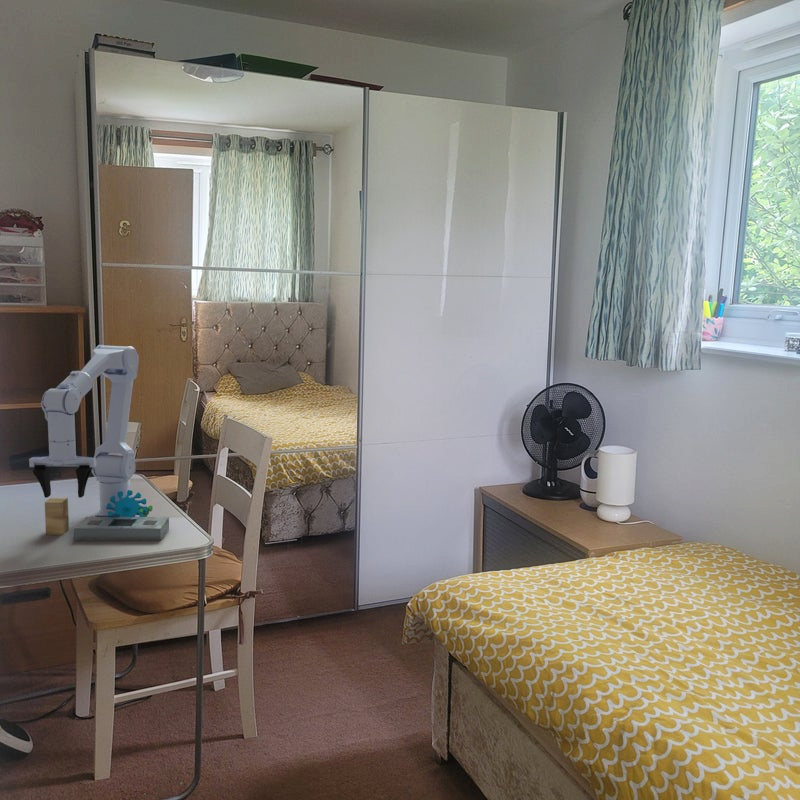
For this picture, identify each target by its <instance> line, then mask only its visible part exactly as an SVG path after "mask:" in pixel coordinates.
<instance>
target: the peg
mask: <svg viewBox="0 0 800 800" xmlns="http://www.w3.org/2000/svg"><path fill="white" fill-rule="evenodd" d="M68 499H69V498H68V497H50V498H49V499H47V500H46V501H44V517H45V522H44V523H45V535H51V536H52V535H54V536H56V535H59V536H60V535H61V536H63V535H65V534H66V532H68V531H69V530H70V524H69V523H70V521H69V520H70V519H69V518H70V516H69V500H68Z"/></svg>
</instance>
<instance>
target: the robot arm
mask: <svg viewBox="0 0 800 800" xmlns="http://www.w3.org/2000/svg"><path fill="white" fill-rule="evenodd" d="M139 360H140V357H139V354H138V353H137V350H136V348H135V347H134V346H132V345H130V346H129V345H128V346H125V345H124V346H123V345H122V346H121V345H105V344H98V345H97V346H95V348H94V349H92V353H91V359H90V360H89V361H88V362H87V363H86V364H85V365H84V367H83V368H82V369H81V370H72V371H71V372H69V375H68V376H67V377H66V378H65V379H64V380H63V381H62V382H60V383H59V384H58V385H57V386H56V387H55V388H54V387H53V388H49V389H48V390H46V391H45V392H44V393H43V394H42V396H41V397H42V398H41V401H40V405H41V409H42V411H43V413H44V419H45V420H46V421H47V431H48V432H47V433H48V435H47V436H48V452H49V453H48V456H33V457H30V458H29V459H28V462H29V463H28V464H29V468H33V470H32V472H33V475H34V476H35V478H36V479H37V481H38V483H39V484H40V488H41V489H42V492H43V497H44V498H49V497H50V496H51V495H52V489H51V488H52V487H51V486H52V485H51V471H52V467H60V468H61V467H63V468H64V467H65V468H67V467H76V469H75V474H76V478H77V497H78V498H80V499H81V498H83V497H84V496H85V491H86V488H87V487H86V486H87V482H88V481H89V476H91V474H92V475H93V476H94V478H95V479H96V481H99V482H98V484H99V485H98V486H99V509H98V511H97V512H96V513H95V514H94V517H108V512H109V511H111V512H113V513H115V512H116V511H114V510H112V509H106V506H107V504H108V503H110V504H111V505H112V507H115V506H116V505H115V504H114V503H113V502H111V501H110V498H111V497H112V496H115V501H119V496H118V492H121V491H122V492H123V496H122V498H125V497H126V496H127V491H128V490H131V491H132V483H131V479H132V478H133V476H134V474H135V472H136V459H135V458H136V457H135V456H136V452H135V451H134V449H133V448H131V447H130V446H129V445H128V444H127V436H128V429H129V427H128V426H129V421H130V420H129V419H130V411H131V402H132V396H133V395H132V393H133V388H134V387H133V386H134V380H135V379H137V377H138V369H139V362H140V361H139ZM101 375H103V376H104V377H105V378H107V379H109V381H110V382H111V389H110V398H109V405H108V416H107V422H106V424H107V425H106V430H105V438H104V439H105V440H104V442H102V444H100V445H99V446H97V447H96V448H95V451H94V456H93V457H92V456H91V457H89V456H78V455H77V447H76V424H75V423H76V421H75V420H76V419H75V418H76V417H75V413H76V412H78V411H79V408H80V405H81V402H82V399H83V398H84V396H86V395H87V394H88V393H89V391H91V389H92V388H93V381H94V380H96V379H97V378H99V376H101ZM119 454H120V455H119ZM77 467H78V468H77ZM131 497H132V495H131V496H129V498H131Z"/></svg>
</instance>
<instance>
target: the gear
mask: <svg viewBox="0 0 800 800" xmlns="http://www.w3.org/2000/svg"><path fill="white" fill-rule="evenodd" d="M133 494H134V491H133V490H132V489H131V490H128V491H127V496H126V497H125V498H122V496H123V492H122V491H121V492H118V496H119V501H115V496H112V497H111V498H110V501H111V502H113V503H114V504H115V505H116V506H115V507H112V505H111V504H110V503H108V504H107V506H106V509H112V510H114V511H116V512H115V513H113V512H111V511H109V512H108V516H107V517H137V516H138V517H148V516H149V514H150V512H152V511H153V506H152V505H149V506H145V505H147V499H146V498H143V499H140V498H142V494H141V493H140V492H136V494H135V495H134V496H132V495H133ZM129 496H131V498H129ZM139 499H140V500H139ZM140 504H142V505H140Z"/></svg>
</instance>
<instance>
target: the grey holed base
mask: <svg viewBox="0 0 800 800" xmlns="http://www.w3.org/2000/svg"><path fill="white" fill-rule="evenodd" d="M169 530H170V517H169V516H147V517H139V516H135V517H120V516H112V517H108V516H85V517H84V518H83V519H82V520H81V521H80V522H79V523H78V524H76V525H75V526H74V527H73V541H74V542H75V541H78V542H79V541H81V542H82V541H83V542H84V541H85V542H86V541H87V542H89V541H91V542H92V541H93V542H95V541H96V542H97V541H98V542H101V541H102V542H103V541H104V542H105V541H107V542H108V541H110V542H112V541H113V542H118V541H120V542H122V541H124V542H125V541H126V542H131V541H132V542H137V541H138V542H139V541H141V542H145V541H149V542H151V541H152V542H156V541H157V542H160V541H162V539H163V538H164V537H165V535H166V534H167V532H168V531H169Z"/></svg>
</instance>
